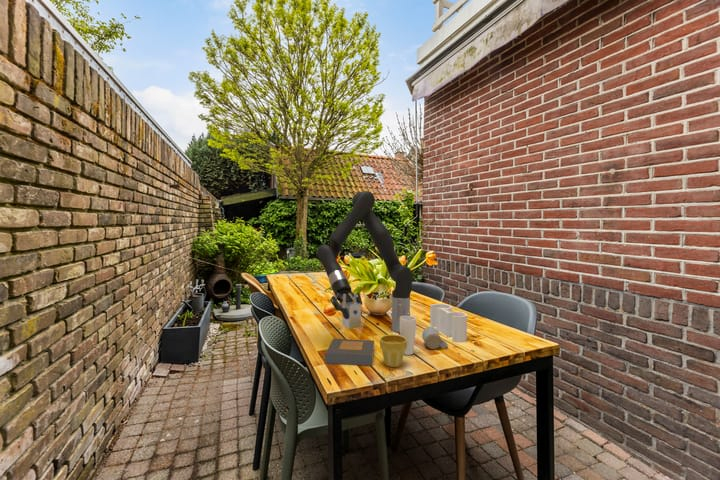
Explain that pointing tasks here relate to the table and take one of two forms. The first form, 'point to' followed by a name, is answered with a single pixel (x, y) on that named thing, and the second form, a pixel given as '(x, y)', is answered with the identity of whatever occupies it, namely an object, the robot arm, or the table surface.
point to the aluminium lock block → (352, 315)
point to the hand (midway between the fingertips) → (353, 316)
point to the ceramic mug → (433, 338)
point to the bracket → (449, 322)
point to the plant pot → (393, 349)
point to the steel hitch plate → (350, 352)
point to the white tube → (408, 332)
